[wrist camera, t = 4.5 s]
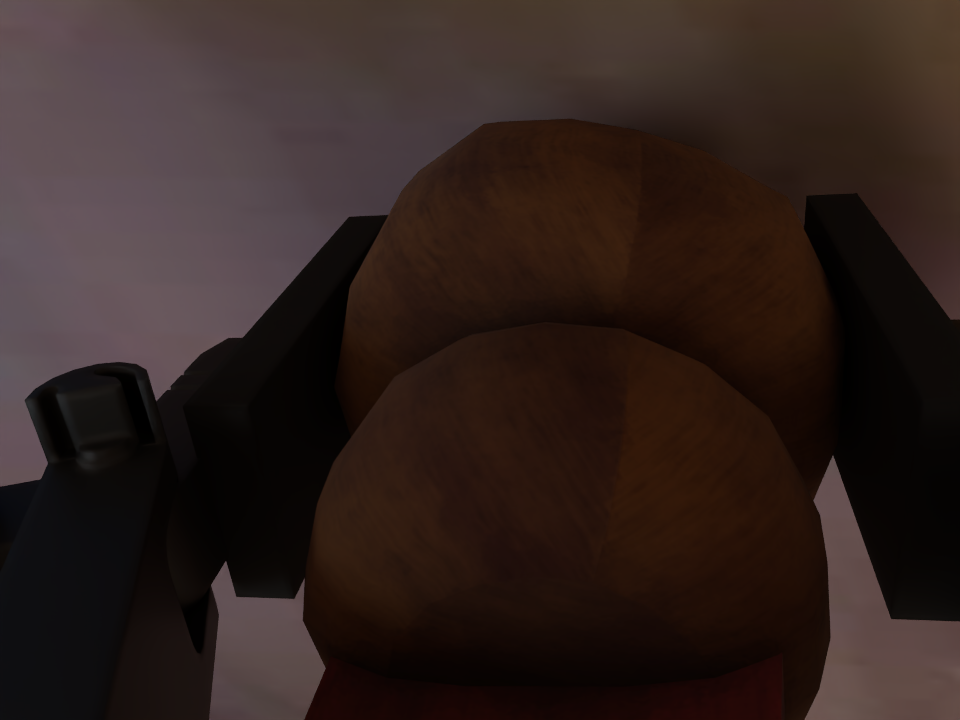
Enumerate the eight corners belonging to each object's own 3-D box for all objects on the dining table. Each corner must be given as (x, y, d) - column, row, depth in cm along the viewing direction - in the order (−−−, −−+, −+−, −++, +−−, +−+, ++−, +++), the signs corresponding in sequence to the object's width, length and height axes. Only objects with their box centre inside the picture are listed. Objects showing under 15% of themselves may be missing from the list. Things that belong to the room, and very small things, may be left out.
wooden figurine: (402, 330, 19) (-158, 1394, 5) (452, 46, 16) (-447, 819, 3) (721, 410, 18) (947, 1732, 5) (829, 136, 15) (1915, 1494, 2)
